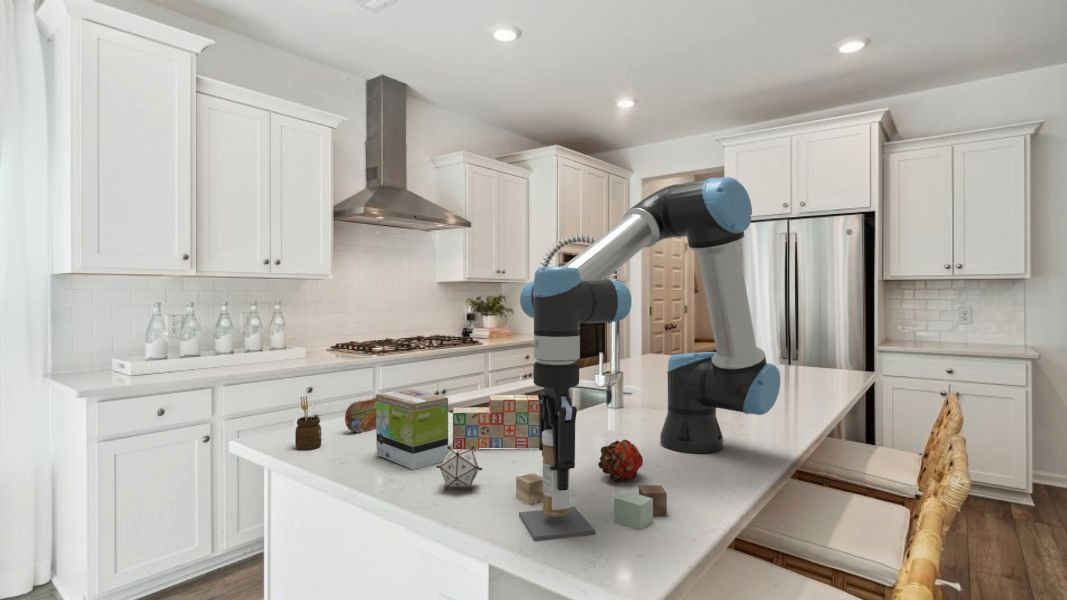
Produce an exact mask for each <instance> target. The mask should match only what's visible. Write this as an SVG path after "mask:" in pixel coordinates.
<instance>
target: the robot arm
mask: <svg viewBox="0 0 1067 600" xmlns="http://www.w3.org/2000/svg"><path fill="white" fill-rule="evenodd" d="M751 202H752V201H751V199H750V195H749V193H748V191H747V190H746V188H745V187H744V185H743V184H742V183H740V182H739V181H738V179H736V178H734V177H730V176H723V177H709V178H705V179H699V180H694V181H689V182H688V181H687V182H684V183H683V182H682V183H677V184H671V185H668V186H665V187H663V188H661V189H658V190H656V191H655V192H653V193H651V194H649V195H648V196H646V197H645V198H644V199H641V200H640V201H639V202H638V203H636V204H635V205H633V206H632V207H630V209H628V210H627V211H626V212H624V214H623V217H622V220H621V221H620V222H618V223H617V224H616V225H615V226H613V227H612V228H611V229H609V230H608V231H607V232H606V233H605V234H603V235H602V236H601V237H599V238H598V239H597V240H595V241H594V242H592V244H590V245H588V246H587V247H586V248H585V249H583V250H582V251H581V252H580V253H578V254H576V255H575V256H574V257H573V258H571V259H570V260H569V261H568V262H566V263H565V264H564V265H563V266H543V267H541V266H540V267H539V268H538V269H536V270H535V272H534V279H533V281H529V282H527V283H526V284H525V285H524V286H523V288H522V290H521V291H520V296H519V304H520V307H521V310H522V311H523V313H524V314H525V315H526V316H527V317H529V318H532V319H533V341H531V342H530V346H531V348H533V358H534V359H535V360H537V361H535V362H534V364H533V375H532V376H533V377H532V379H533V384H534V385H535V386H537V387H540V388H543V392H539V393H538V399H539V449H538V450H539V451H540V452H541V456H542V457H543V445H542V444H543V443H542V432H543V431H545V430H548V429H552V436H553V453H554V466H550V470H551V471H552V509H553V510H560V509H569V507H570V471H571V469H575V468H576V420H577V414H578V413H577V412H578V409H577V407H576V406H573V405H572V398H571V397H570V391H569V389H570V388H574V387H577V386H578V385H579V384H580V364H579V362H577V361H578V360H579V359H580V358H581V349H580V348H581V343H580V342H581V335H580V326H581V325H580V324H601V323H603V324H604V323H607V324H612V323H615V322H620V321H623V320H625V319H626V318H627V316H628V315H629V314H630V311H631V309H632V293H631V291H630V289H629V288H628V286H627V285H625V283H624V282H622V281H619V280H612V279H607V278H609V277H610V276H611V275H612V274H614V273H615V272H616V271H617V270H619V269H620V267H622V266H623V265H625V264H626V263H627V262H628V261H629V260H631V258H633V257H635V255H637V254H638V253H640V251H641V250H643V249H644V248H650V247H653V246H654V245H656V244H657V243H658V242H661V241H663V240H666V239H672V238H677V237H679V238H682V237H683V238H684V237H686V239H687V245H688V248H689V250H692V251H693V252H695V253H696V254H697V258H698V262H699V268H700V272H701V278H702V282H703V283H702V284H703V287H704V294H705V299H706V304H707V308H708V313H709V319H710V324H711V329H712V335H713V339H714V345H715V350H716V352H715V351H703V352H702V351H701V352H689V353H678V354H673V355H671V356H670V357H669V358H668V365H667V371H666V374H667V413H666V417H665V420H664V423H663V426H662V428H661V431H660V434H659V435H660V437H659V439H660V440H659V441H660V445H661V446H663V447H664V448H666V449H669V450H673V451H677V452H682V453H690V454H691V453H692V454H708V453H716V452H719V451H722V450H723V449H724V437H723V434H722V430H721V427H720V424H719V422H718V418H717V409H721V410H727V411H731V412H736V413H737V412H738V413H744V414H745V415H750V414H751V415H756V416H763V415H765V414H767V413H768V412H770V410H771V409H773V407H774V405H775V404H776V401H777V399H778V396H779V393H780V388H781V374H780V370H779V368H778V367H777V366H776V365H775V364H773V363H767V358H766V357H767V356H766V353H765V351H764V350H763V349H762V348H761V347H758V346H757V343H756V337H755V333H754V331H755V330H754V327H753V320H752V316H751V308H750V303H749V298H748V292H747V287H746V281H745V274H744V270H743V268H744V267H743V263H742V257H741V252H740V246H739V245H740V243H741V242H742V241H743V239H745V231H746V230H747V229H749V226H750V225H751V222H752V217H751V216H752V214H753V206H752V203H751Z"/></svg>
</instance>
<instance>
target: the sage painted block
mask: <svg viewBox="0 0 1067 600" xmlns="http://www.w3.org/2000/svg"><path fill="white" fill-rule="evenodd" d="M613 501H614V506H613V507H614V509H613V510H614V517H613V519H614V522H616V523H620V524H622V525H626V526H630V527H633V528H635V529H639V530H642V529H644V528H645V527H647V526H648V525H650V524H651V523H653V522H654V521H653V519H654V516H653V498H649V497H646V496H642V495H639V493H636V492H635V493H634V492H630V491H625V492H623V493H621V494H619V495H617V496H616V497H614V500H613Z"/></svg>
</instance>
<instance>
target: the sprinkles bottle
mask: <svg viewBox="0 0 1067 600" xmlns="http://www.w3.org/2000/svg"><path fill="white" fill-rule="evenodd" d="M542 443H543V444H542V445H543V456H542V477H543V501H542V509H541V510H542V511H543V513H544V514H545V515H548V516H552V517H561V516H565V515H567V514H568V513H569V511H570V510H569V509H560V510H553V509H552V471H551V470H550V466H554V453H553V436H552V429H548V430H545V431H543V432H542Z"/></svg>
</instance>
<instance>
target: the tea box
mask: <svg viewBox="0 0 1067 600" xmlns="http://www.w3.org/2000/svg"><path fill="white" fill-rule="evenodd" d="M375 398H376V429H375V430H376V435H375V436H376V443H375V446H376V456H377V457H381V458H384V459H387V461H392V462H393V463H396V464H397V465H398V464H399V465H401V466H403V467H406V468H407V469H410V470H412V471H415V470H418V469H423V468H426V467H429V466H432V465H433V466H434V465H436V464H439V463H440V464H441V463H442V462H443V460H444V458H445V456H446V455H447V453H448V451H449V449H448V446H449V397H447V396H443V395H442V396H441V395H439V394H434V393H429V392H425V391H421V390H417V389H412V388H408V389H401V390H395V391H390V392H384V393H376V395H375Z"/></svg>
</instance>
